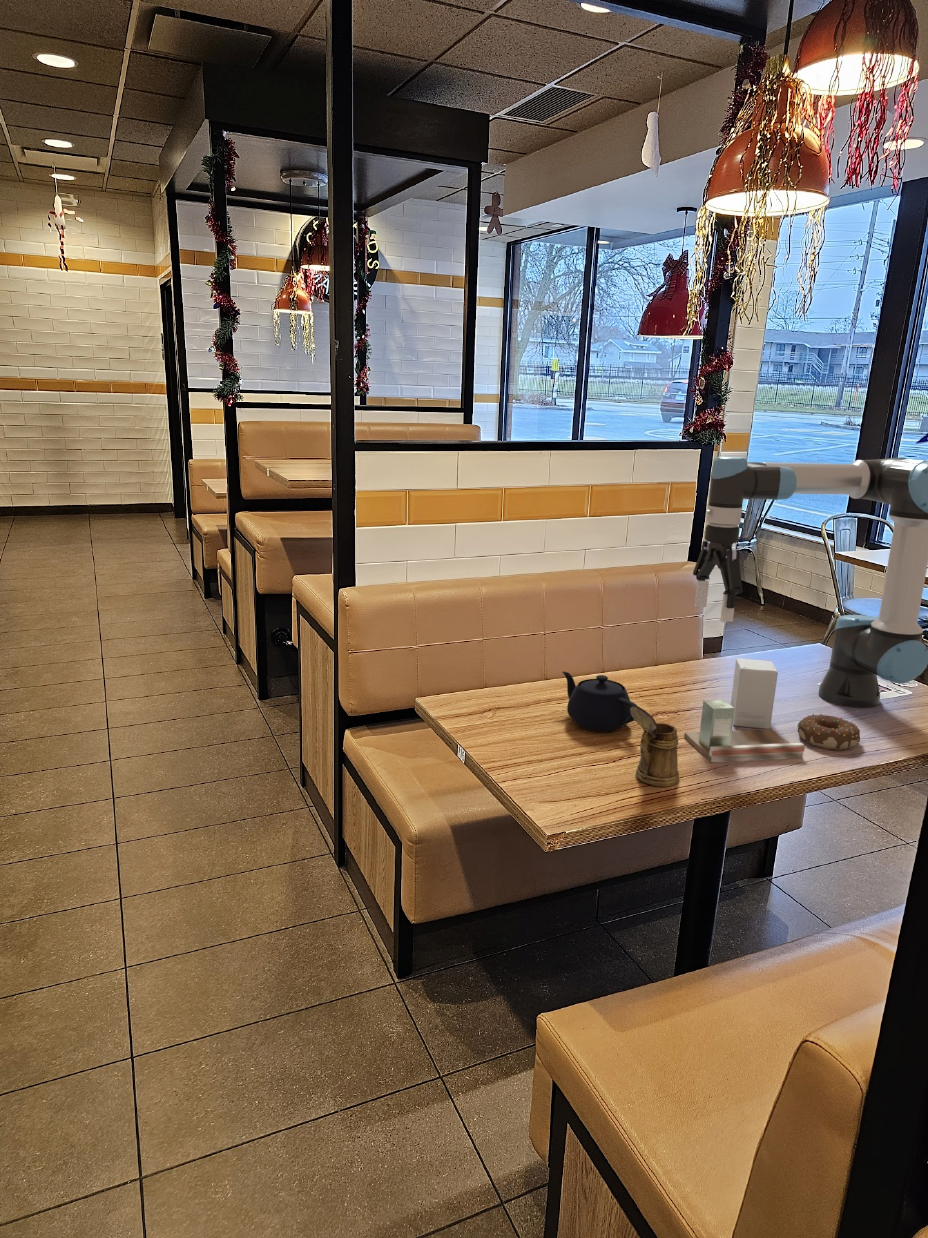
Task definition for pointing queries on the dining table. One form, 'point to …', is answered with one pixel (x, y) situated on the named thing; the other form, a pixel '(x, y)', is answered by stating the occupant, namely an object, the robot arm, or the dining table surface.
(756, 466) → the robot arm
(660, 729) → the wooden mug
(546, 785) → the dining table surface
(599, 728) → the teapot
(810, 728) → the donut
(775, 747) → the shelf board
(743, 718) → the supplement box
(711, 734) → the tea tin
